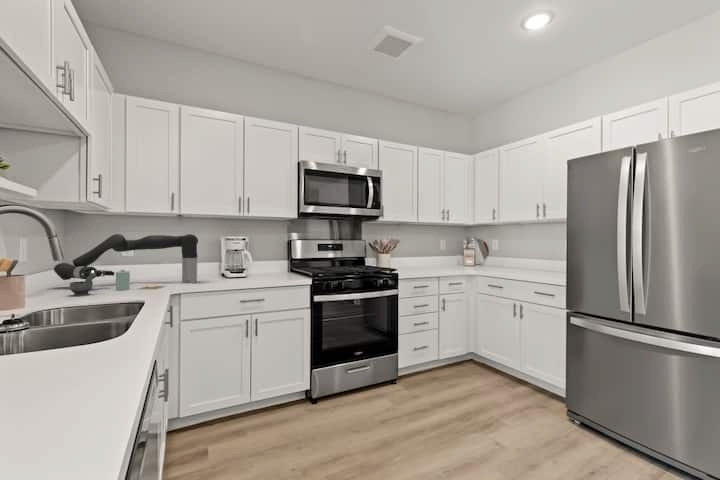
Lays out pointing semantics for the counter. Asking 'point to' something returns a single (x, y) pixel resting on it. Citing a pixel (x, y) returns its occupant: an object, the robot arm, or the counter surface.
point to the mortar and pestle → (82, 286)
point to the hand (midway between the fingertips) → (106, 274)
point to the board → (153, 288)
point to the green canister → (122, 280)
